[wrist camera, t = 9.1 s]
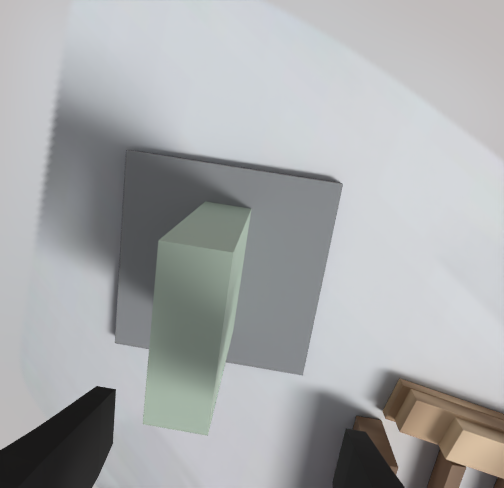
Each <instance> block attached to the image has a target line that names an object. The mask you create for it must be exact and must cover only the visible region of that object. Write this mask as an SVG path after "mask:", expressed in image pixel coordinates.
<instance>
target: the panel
mask: <svg viewBox="0 0 504 488" xmlns="http://www.w3.org/2000/svg"><path fill="white" fill-rule="evenodd" d="M250 215H251V209H250V208H243V207H237V206H231V205H224V204H218V203H212V202H206V201H205V202H204V203H203V204H202V205H201V206H199V207H198V208H197V209H196V210H195V211H193V212H192V213H191V214H190V215H189V216H187V217H186V218H185V219H184V220H183V221H181V222H180V223H179V224H178V225H176V226H175V227H174V228H173V229H172V230H170V231H169V232H168V233H167V234H166V235H164V236H163V237H162V238H161V239H160V240H158V252H157V264H156V275H155V287H154V299H153V310H152V322H151V334H150V345H149V357H148V369H147V380H146V392H145V404H144V415H143V424H145V425H150V426H156V427H162V428H167V429H173V430H179V431H184V432H190V433H196V434H201V435H207V436H208V432H209V428H210V424H211V420H212V416H213V411H214V407H215V403H216V399H217V395H218V391H219V387H220V383H221V379H222V375H223V371H224V366H225V362H226V358H227V354H228V350H229V346H230V342H231V338H232V334H233V329H234V322H235V316H236V309H237V302H238V295H239V289H240V282H241V275H242V269H243V262H244V255H245V249H246V242H247V235H248V229H249V222H250Z"/></svg>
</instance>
